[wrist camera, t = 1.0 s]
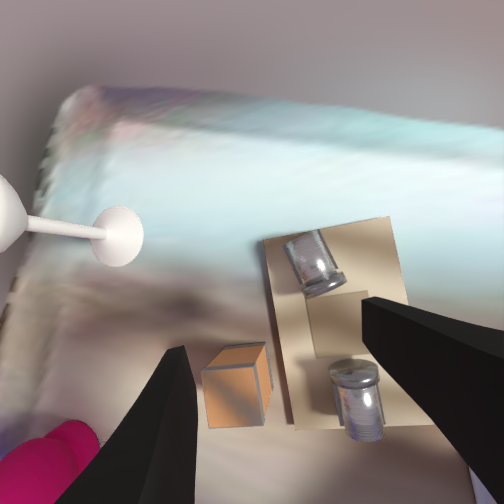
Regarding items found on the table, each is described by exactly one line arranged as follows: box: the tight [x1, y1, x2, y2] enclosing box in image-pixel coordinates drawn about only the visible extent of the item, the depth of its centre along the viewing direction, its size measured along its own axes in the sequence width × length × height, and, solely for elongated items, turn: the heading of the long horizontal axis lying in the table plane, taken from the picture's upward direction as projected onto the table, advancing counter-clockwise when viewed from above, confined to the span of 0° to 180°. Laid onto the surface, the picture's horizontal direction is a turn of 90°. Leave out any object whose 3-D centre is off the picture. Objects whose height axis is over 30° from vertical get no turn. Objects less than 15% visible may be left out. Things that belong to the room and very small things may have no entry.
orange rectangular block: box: [201, 342, 274, 429], centre depth 22 cm, size 4×4×6 cm
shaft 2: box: [328, 359, 386, 442], centre depth 20 cm, size 5×4×5 cm
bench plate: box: [263, 216, 434, 430], centre depth 23 cm, size 17×11×1 cm, turn 10°
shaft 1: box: [282, 229, 347, 299], centre depth 21 cm, size 5×4×5 cm
